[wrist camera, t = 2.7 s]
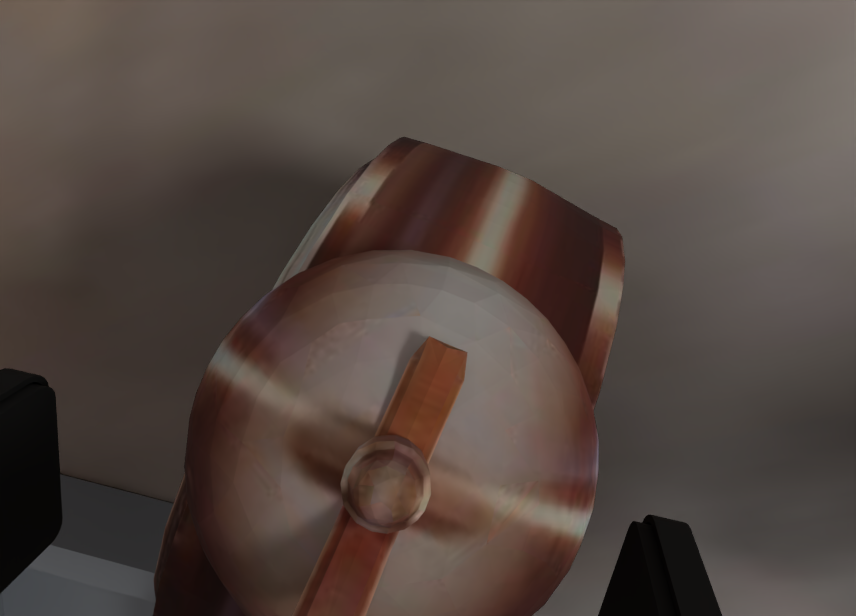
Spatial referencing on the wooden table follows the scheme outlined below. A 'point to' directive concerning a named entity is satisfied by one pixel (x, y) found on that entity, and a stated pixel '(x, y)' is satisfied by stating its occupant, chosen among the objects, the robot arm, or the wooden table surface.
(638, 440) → the wooden table surface
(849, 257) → the wooden table surface
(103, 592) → the tray
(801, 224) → the wooden table surface
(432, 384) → the alarm clock
